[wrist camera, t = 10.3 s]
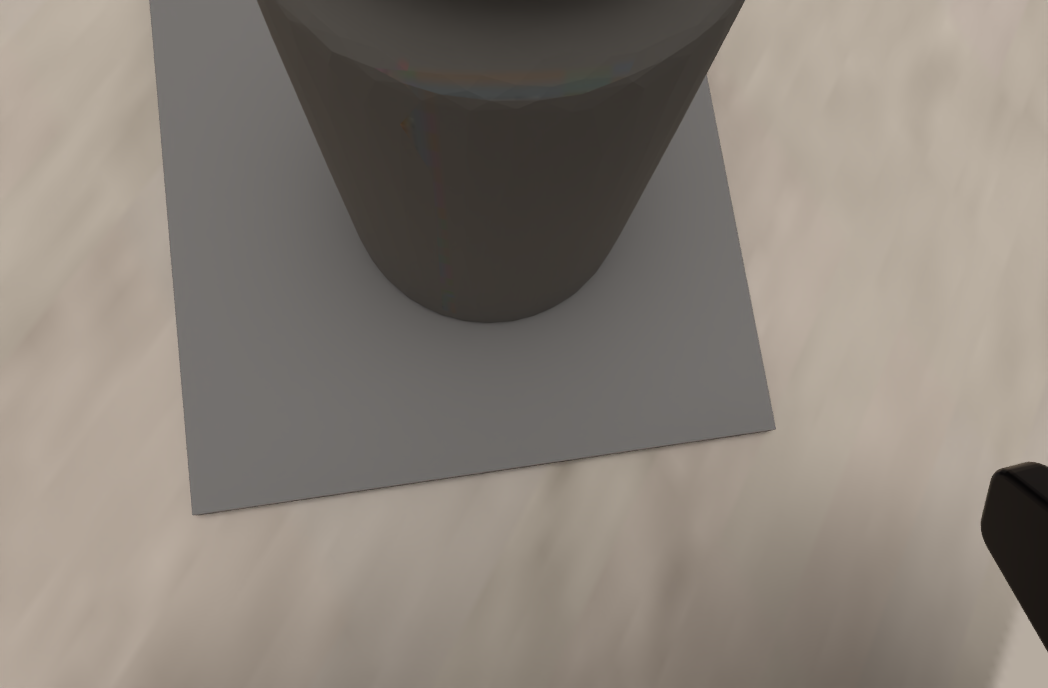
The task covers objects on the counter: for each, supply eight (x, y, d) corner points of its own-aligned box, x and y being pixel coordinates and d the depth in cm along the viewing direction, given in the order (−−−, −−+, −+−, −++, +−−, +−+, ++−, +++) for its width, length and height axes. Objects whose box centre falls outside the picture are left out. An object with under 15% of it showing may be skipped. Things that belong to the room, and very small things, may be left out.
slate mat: (769, 431, 19) (775, 429, 19) (198, 514, 18) (192, 515, 18) (671, -73, 21) (675, -85, 21) (152, -21, 20) (146, -32, 20)
